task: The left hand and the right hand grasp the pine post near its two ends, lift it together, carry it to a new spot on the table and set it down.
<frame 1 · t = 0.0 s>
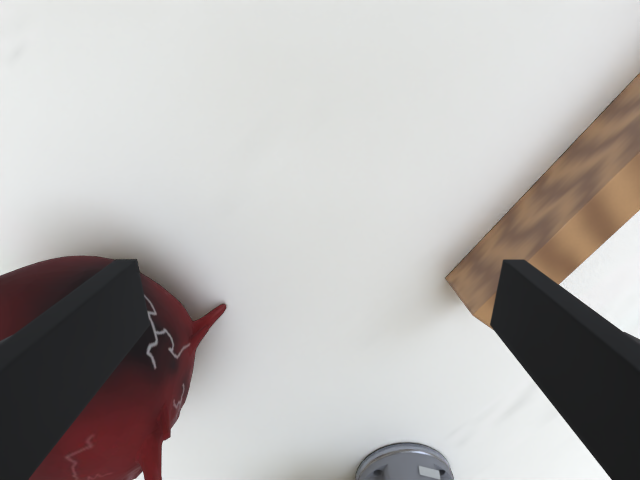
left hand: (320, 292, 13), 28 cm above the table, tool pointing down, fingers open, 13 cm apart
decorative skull: (125, 323, 46), on the table
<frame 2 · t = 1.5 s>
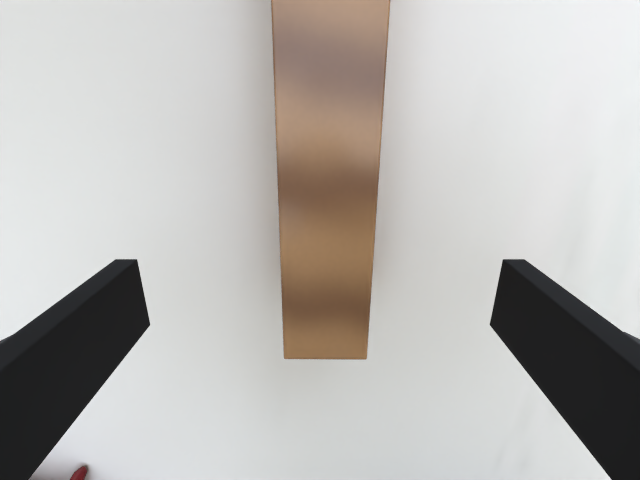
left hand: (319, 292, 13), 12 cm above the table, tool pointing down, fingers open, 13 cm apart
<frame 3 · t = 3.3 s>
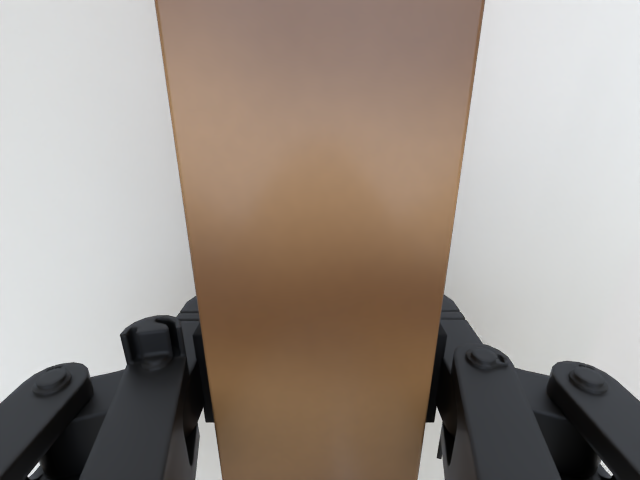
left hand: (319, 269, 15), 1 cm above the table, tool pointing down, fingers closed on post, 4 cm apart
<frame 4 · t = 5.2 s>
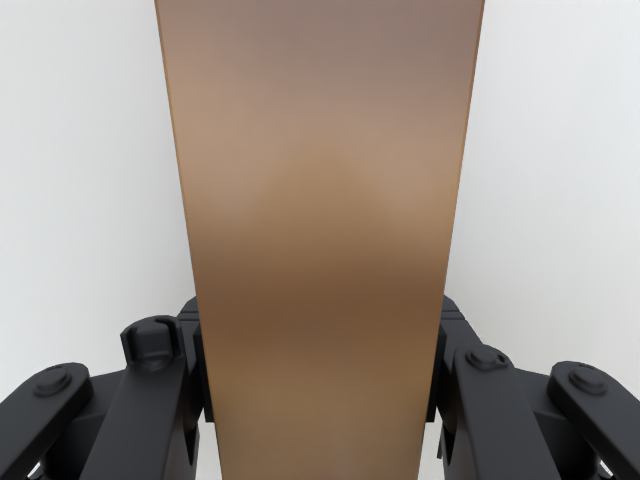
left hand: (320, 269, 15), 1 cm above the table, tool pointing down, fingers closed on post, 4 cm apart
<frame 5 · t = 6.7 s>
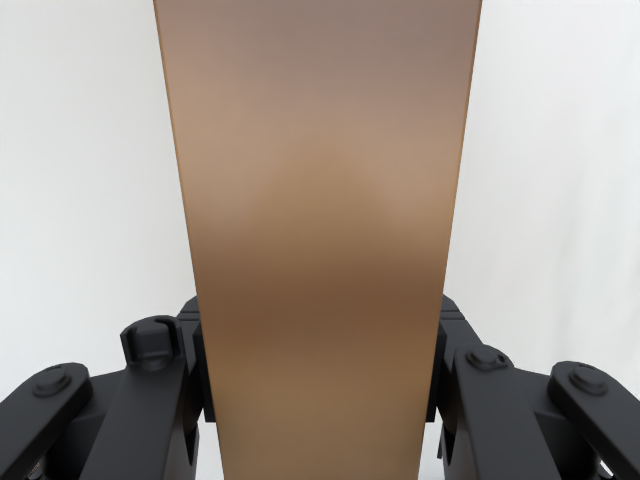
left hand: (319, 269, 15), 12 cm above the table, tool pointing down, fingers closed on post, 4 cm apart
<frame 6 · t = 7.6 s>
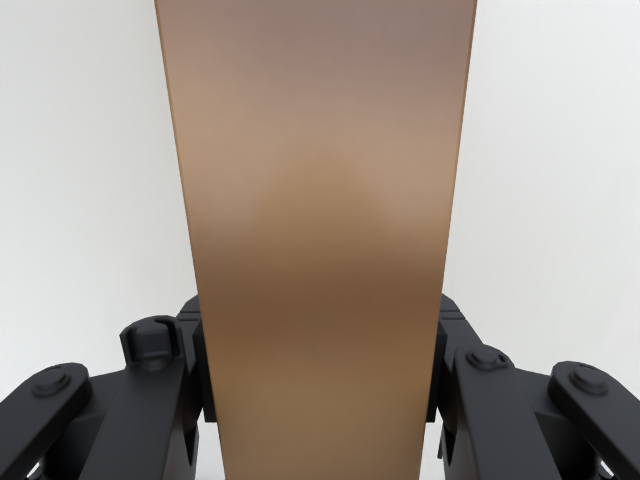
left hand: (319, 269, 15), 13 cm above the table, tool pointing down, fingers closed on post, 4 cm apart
when the left hand's fingers open (2 cm above the table, at t = 10.1 s): post drops 1 cm, on the table.
when the right hand's fingers open (2 cm above the table, at t = 10.2 s): post stays where it is, on the table.
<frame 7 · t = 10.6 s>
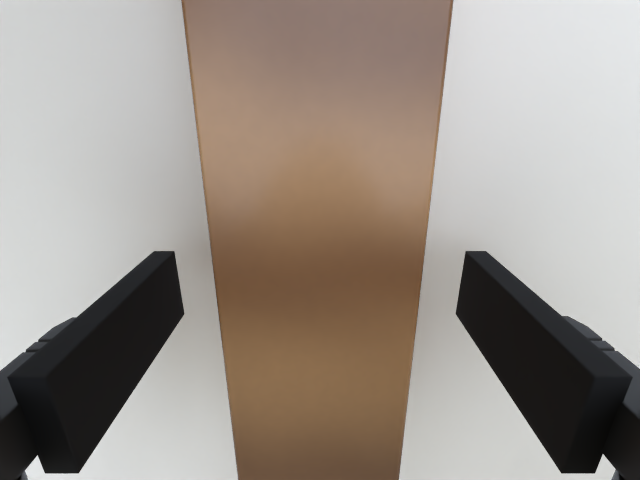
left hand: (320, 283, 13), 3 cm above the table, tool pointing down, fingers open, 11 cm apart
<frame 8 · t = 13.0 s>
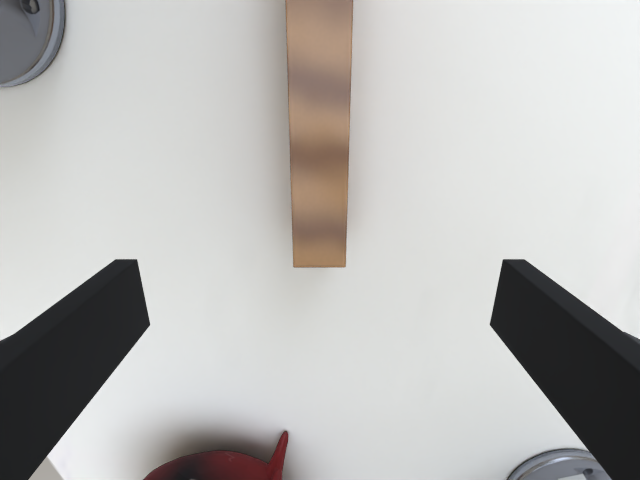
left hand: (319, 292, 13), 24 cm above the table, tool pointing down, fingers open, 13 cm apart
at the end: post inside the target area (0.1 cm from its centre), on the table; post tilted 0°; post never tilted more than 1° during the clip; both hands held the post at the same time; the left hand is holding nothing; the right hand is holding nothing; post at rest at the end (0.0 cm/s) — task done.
